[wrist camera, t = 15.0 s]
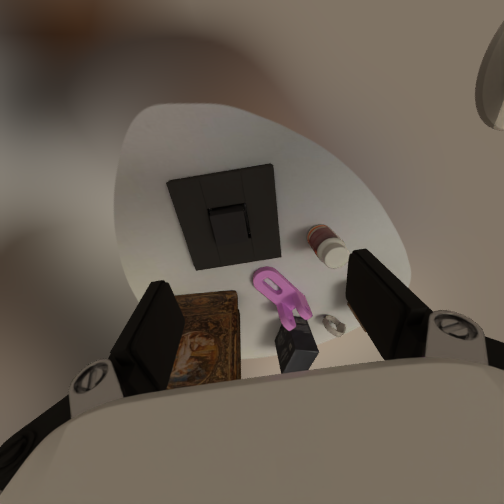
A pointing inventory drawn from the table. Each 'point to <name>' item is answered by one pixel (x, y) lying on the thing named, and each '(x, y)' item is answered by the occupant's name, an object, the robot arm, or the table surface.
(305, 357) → the box
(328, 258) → the pill bottle
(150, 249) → the table surface
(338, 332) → the wristwatch
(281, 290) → the bracket
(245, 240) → the pad
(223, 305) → the book
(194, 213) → the base pad
